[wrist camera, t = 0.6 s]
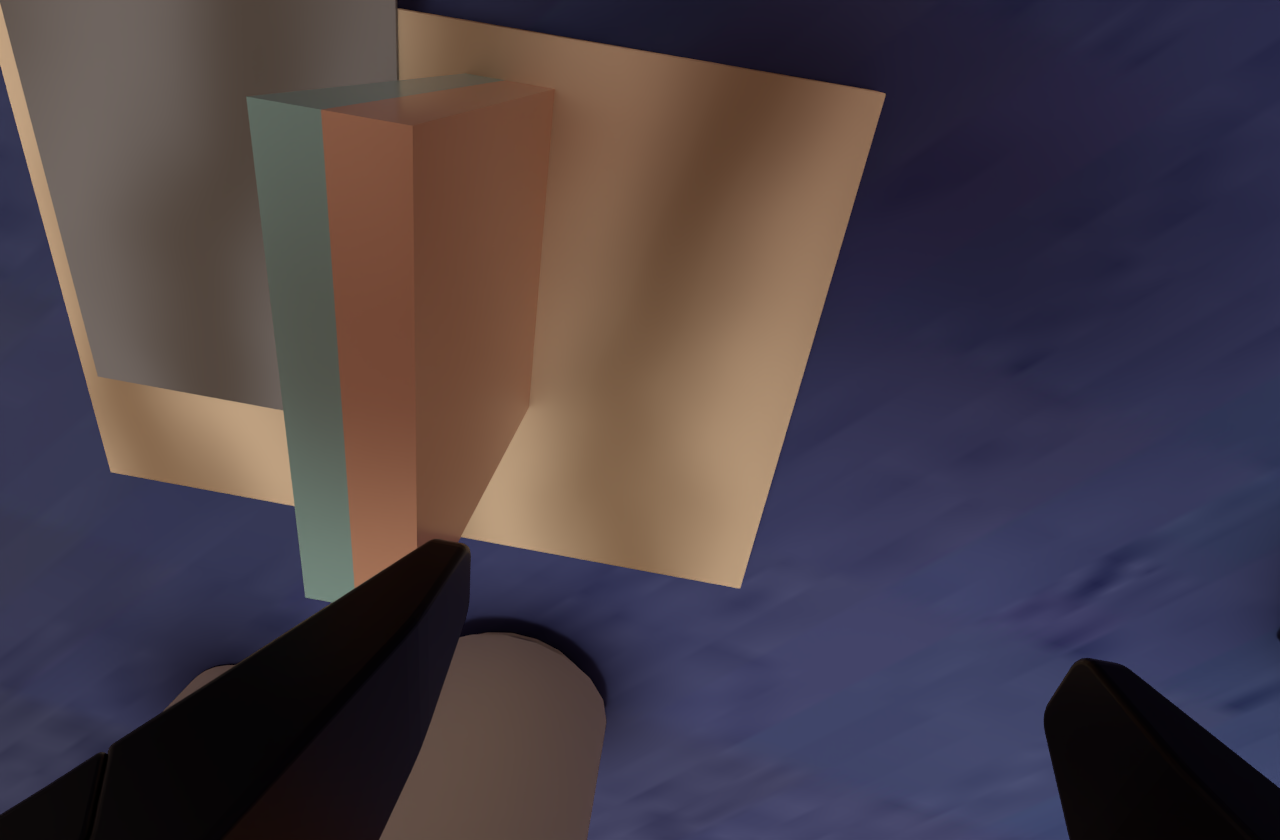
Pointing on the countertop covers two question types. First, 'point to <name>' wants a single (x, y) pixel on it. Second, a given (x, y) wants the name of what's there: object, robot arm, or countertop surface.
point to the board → (569, 273)
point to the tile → (399, 303)
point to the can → (505, 748)
